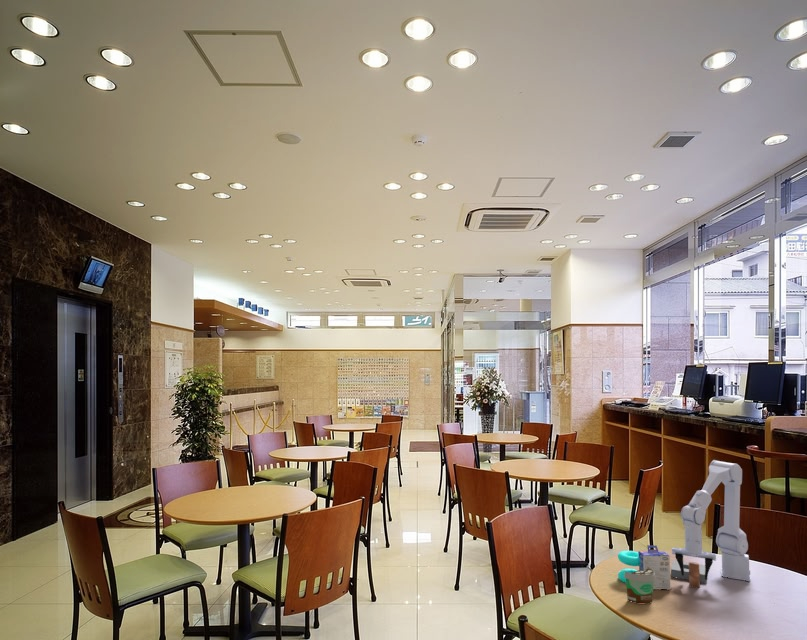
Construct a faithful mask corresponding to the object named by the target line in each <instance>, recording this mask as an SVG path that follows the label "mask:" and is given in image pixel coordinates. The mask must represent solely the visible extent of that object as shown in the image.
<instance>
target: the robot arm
mask: <svg viewBox="0 0 807 640" xmlns="http://www.w3.org/2000/svg"><path fill="white" fill-rule="evenodd" d="M721 483H722V484H723V485H724V507H723V509H724V510H723V512H724V513H723V517H724V518H723V526H720V527H719V528H718V529H717V533H716V534H717V535H716V538H715V543H716V545H717V547H718V548H719V551H721V569H720V576H721V577H722V576H723V577H722V578H727V577H728V579H734V580H741V581H745V580H746V581H747V582H751V577H750V576H751V569H750V557H749V556H750V555H749V554H746V553H747V552H748V550H749V543H748V539H747V534H746V532H744V530H742V529H741V528H740V513H741V511H740V508H741V500H740V499H741V485H742V483H743V468H741V466H740V465H739V464H738V463H732V462H726V461H722V460H721V461H720V460H716V459H713V460H712V461H711V462H710V463H709V466H708V476H707V477H706V480H705V482H704V484H703V487H702V489H701V490H700V489H699V490H696V492H695V493H694V495H693V497H692V498H691V500H690V501H689V503H688V504H687V505H685V506H683V507H682V508H681V510H680V511H681V512H680V517H681V519H682V525H683V526H684V548H681V547H672V548H671V554H672V555H675V560H676V561H677V562H678V564H679V566H680V569H681V573H682V576H684V567H683V562H684V556H687V557H692V558H698V559H699V558H700V559H704V565H705V579H706V580H707V581H708V574H709V572H710V569H711V567H712V565H713V563H714V562H713V561H715V562H716V561H717V554H716V553H712V552H708V551H703V536H702V535H703V533H702V531H703V529H702V524H703V523H704V522H705V519H706V514H707V510H708V507H709V505H710V504H711V503H712V501H713V498H712V494H713V493H714V492H715V491H716V489H717V488H718V486H719V485H721Z"/></svg>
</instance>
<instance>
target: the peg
mask: <svg viewBox="0 0 807 640" xmlns="http://www.w3.org/2000/svg"><path fill="white" fill-rule="evenodd" d="M699 564H700V563H699V562H694V561H689V580H688V585H689V586H690V587H692V586H693V587H692V588H696V587H698V588H701V584H700V583H701V582H700V572H699Z"/></svg>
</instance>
